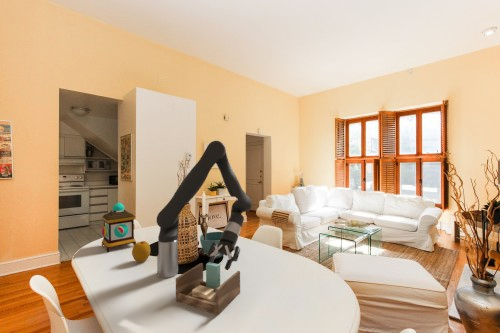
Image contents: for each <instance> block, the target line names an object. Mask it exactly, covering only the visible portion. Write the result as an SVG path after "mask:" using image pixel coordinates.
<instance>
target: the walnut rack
mask: <svg viewBox="0 0 500 333" xmlns="http://www.w3.org/2000/svg"><path fill="white" fill-rule="evenodd" d="M199 285H202V286H205V287H206V280H205V281H204V263H202V262H201V263H198V264H197V265H195V266H194V267H192V268H190V269H189V270H187V271H185V272H183V273H182V274H181V275H178V276H177V277H176V278H175V302H177V303H180V304H183V305H186V306H189V307H192V308H196V309H198V310H202V311H205V312H209V313H211V314H213V315H218V316H219V315H221V313H222V312H223V311H224V310H225V309H226V308H228V306H230V304H231V303H232V302H233V301H234V300H235V299H236V298H237V297H238V296H239V295H240V294H241V271H240V270H236V272H235V273H233V274H232V275H231V276H230V277H229V278H227V279H226V280H225V281H224V282H223V283H220V286H219V287H218V288H217V289H216V290H214V292H215V293H216V301H215V302H214V303H212V302H209V301H205V300H202V299H198V298H195V297H192V295H193V294H192V290H193V289H194V288H196V287H198V286H199Z"/></svg>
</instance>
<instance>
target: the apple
mask: <svg viewBox="0 0 500 333" xmlns="http://www.w3.org/2000/svg"><path fill="white" fill-rule="evenodd" d="M131 255H132V258H133V260H134V262H136V263H144V262H146V261H148V258H149V257H150V255H151V246H150V244H149V243H148V242H147V241H144V240H143V241H138V242H137V241H136V244H135V245H134V246H133V247H132V250H131Z"/></svg>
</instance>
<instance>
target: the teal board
mask: <svg viewBox="0 0 500 333" xmlns="http://www.w3.org/2000/svg"><path fill="white" fill-rule="evenodd" d="M205 282H206V287H208V288H211V289H214V290H216V289H217V288H218V287H219V286H220V285H221V264H220V263H214V262H213V263H210V262H209V263H208V262H207V263H206V264H205Z"/></svg>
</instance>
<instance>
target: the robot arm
mask: <svg viewBox="0 0 500 333" xmlns="http://www.w3.org/2000/svg"><path fill="white" fill-rule="evenodd" d="M229 161H230V160H229V158H228V154H227V150H226V146H225V144H224V143H223V142H222V141H220V140H213V141H211V142H210V143H209V144H208V145H207V147H206V148H205V150H204V152H203V153H202V156H201V157H200V158H199V160H198V161H197V162H196V164H195V165H194V166H193V167H192V168H191V170H190V171H189V172H188V173H187V174H186V176H185V178H183V180H182V181H181V183H180V184H179V186H178V187H177V189H176V191H175V192H174V194H173V196H172V197H171V199H170V200H169V201H168V203H167V204H165V206H164V207H163V208H162V209H161V210H160V211H159V213H157V216H156V223H157V226H158V227H159V234H158V254H157V256H156V260H157V262H156V263H157V264H156V272H157V275H158V276H159V278H162V279H165V278H172V277H175V276H177V275H178V273H179V250H178V249H179V247H178V246H179V245H178V244H179V242H178V241H179V238H178V237H179V229H180V228H179V225H180V223H179V221H180V220H179V215H180V214H181V212H182V210H184V208H185V207H186V205H187V204H188V203H189V202H190V201H191V200H192V199H193V198H194V197H195V195H197V193H198V192H199V190H200V189H201V188H202V186H203V185H204V183H205V181H206V179H207V178H208V176H209V173H210V171H211V170H212V168H213V167H214V165H216V166H217V168H218V170H219V172H220V174H221V178H222V180H223V183H224V186H225V187H226V189H227V192H228V195H229V196H230V197H232V198H233V197H234V198H235V199H237V200H235V201H234V202H232V205H231V210H230V216H229V218H228V221H227V224H226V225H225V227H224V229H223V231H222V232H223V234H222V236H221V238H220V242H219V244H215V242H213V243H212V245H211V247H210V249H209V251H208V255H209V256H210V258H209V259H208V261H207V263H209V262H210V263H214V261H215V259H216V258H215V257H217V256H219V255H220V254H221V255H223V256H227V258H228V259H227V261H226V263H225V266H224V269H225V271H229V270H230V268H231V267H232V263H233V262H238V259H239V255H240V252H241V248H240V247H239V246H238V245H236V244H237V242H238V239H239V237H240V233H241V230H242V226H243V224H244V221H245V218H244V216H243V215H242V213H245V212H249V211H250V210H251V209H252V208H253V207H252V206H253V203H252V200H251V197H249V195H248V194H247V193H246V192H245V191H244V190H243V188H242V186H241V184H240V181H239V180H238V178H237V176H236V174H235V172H234V170H233V168H232V166H231V163H230V162H229ZM217 247H218V248H217ZM216 248H217V249H216ZM215 249H216V250H215ZM233 251H234V252H233ZM232 253H233V254H232Z"/></svg>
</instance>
